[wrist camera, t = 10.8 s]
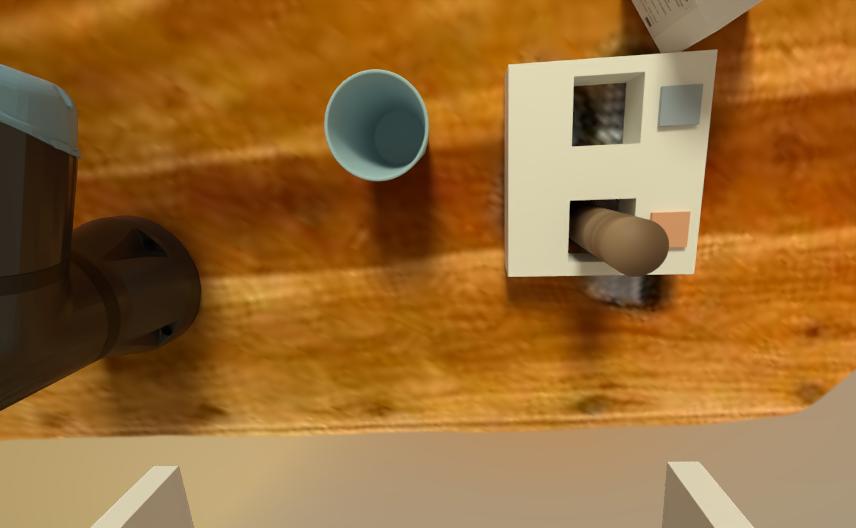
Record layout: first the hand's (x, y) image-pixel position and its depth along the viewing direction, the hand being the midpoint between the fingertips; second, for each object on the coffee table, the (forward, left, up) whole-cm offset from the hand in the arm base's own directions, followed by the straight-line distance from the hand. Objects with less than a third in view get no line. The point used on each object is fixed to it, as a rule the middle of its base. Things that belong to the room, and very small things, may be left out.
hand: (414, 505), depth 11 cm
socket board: (+13, +8, -31) cm, 35 cm away
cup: (-5, +12, -31) cm, 34 cm away
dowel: (+13, +3, -31) cm, 34 cm away
